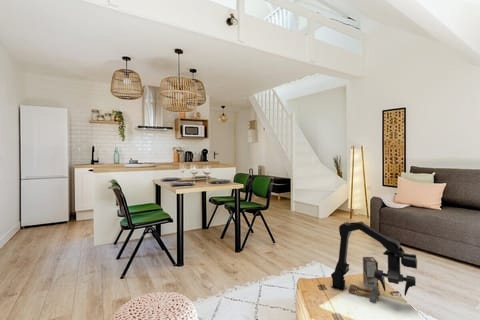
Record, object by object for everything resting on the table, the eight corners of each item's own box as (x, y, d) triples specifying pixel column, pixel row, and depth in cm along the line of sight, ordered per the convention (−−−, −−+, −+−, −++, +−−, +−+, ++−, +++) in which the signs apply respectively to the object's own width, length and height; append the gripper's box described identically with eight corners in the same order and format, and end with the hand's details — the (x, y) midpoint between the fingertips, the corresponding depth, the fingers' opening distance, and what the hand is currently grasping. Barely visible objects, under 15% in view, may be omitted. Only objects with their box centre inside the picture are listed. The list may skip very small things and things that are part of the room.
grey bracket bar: (369, 301, 138) (369, 295, 138) (373, 292, 148) (372, 286, 148) (376, 303, 137) (376, 297, 137) (379, 293, 146) (378, 288, 146)
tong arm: (349, 293, 148) (349, 286, 148) (350, 291, 149) (350, 285, 149) (378, 300, 139) (378, 293, 139) (378, 298, 141) (378, 292, 141)
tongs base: (348, 293, 148) (348, 288, 148) (351, 288, 153) (351, 284, 153) (378, 300, 139) (378, 296, 139) (379, 295, 145) (379, 290, 145)
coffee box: (379, 289, 151) (378, 262, 151) (367, 289, 152) (366, 261, 152) (374, 282, 160) (373, 256, 160) (363, 281, 161) (362, 256, 161)
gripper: (372, 265, 135) (373, 295, 135) (414, 273, 125) (415, 305, 124) (375, 258, 144) (375, 286, 144) (415, 265, 134) (416, 295, 134)
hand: (394, 293), depth 136 cm, fingers open, 9 cm apart
